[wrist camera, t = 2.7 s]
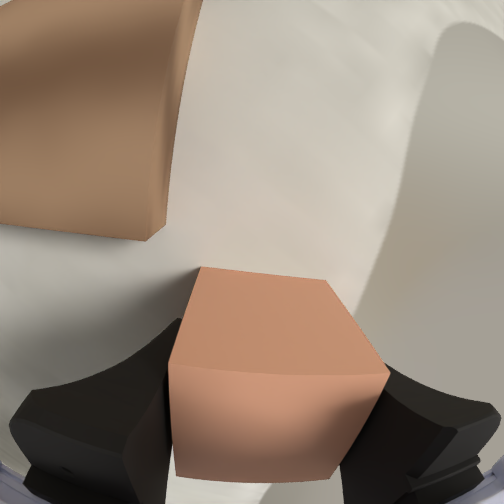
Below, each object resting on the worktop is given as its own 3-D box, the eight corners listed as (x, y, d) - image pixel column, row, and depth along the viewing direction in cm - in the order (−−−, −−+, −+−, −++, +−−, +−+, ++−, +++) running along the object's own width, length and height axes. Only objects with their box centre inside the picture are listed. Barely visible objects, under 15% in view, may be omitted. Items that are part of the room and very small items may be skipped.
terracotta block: (300, 375, 13) (328, 479, 7) (194, 367, 13) (176, 476, 7) (325, 280, 12) (390, 372, 6) (201, 266, 11) (168, 363, 5)
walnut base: (168, 222, 11) (145, 241, 8) (-5, 206, 10) (-43, 218, 7) (206, -5, 8) (198, -44, 6) (26, 25, 8) (-6, 9, 5)
